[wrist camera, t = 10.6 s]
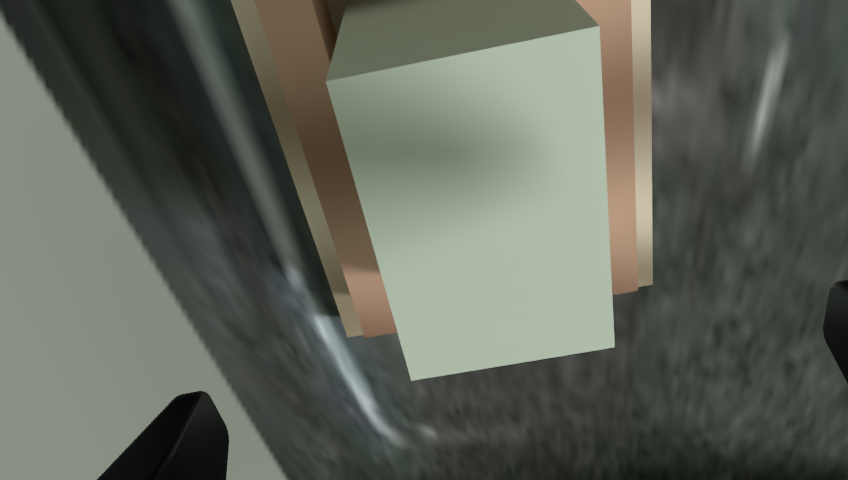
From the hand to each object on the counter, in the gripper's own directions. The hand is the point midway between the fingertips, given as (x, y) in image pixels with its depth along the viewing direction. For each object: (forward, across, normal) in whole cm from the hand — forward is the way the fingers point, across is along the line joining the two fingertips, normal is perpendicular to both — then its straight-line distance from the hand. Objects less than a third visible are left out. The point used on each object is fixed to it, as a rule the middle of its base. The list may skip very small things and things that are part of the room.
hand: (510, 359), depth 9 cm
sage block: (+10, 0, 0) cm, 10 cm away
